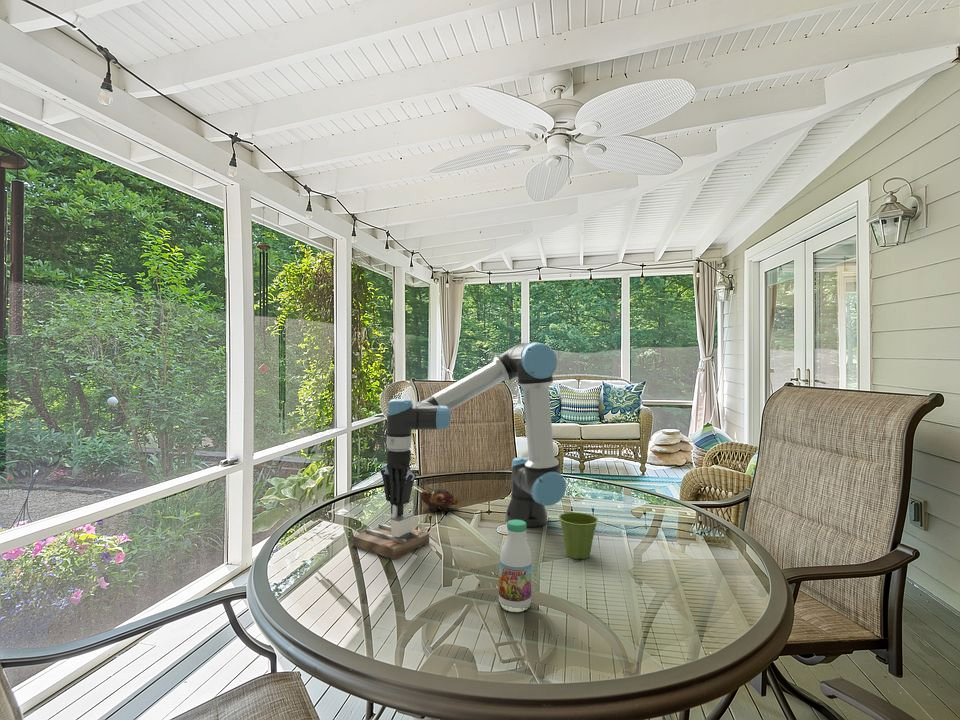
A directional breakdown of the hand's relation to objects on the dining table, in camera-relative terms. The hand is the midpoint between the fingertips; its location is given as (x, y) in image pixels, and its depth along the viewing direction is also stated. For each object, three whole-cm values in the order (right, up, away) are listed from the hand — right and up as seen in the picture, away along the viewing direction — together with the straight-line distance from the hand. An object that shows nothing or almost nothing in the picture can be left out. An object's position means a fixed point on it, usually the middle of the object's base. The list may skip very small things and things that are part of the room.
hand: (396, 525), depth 152 cm
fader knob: (+2, -3, -1) cm, 4 cm away
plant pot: (+55, -8, -3) cm, 56 cm away
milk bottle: (+34, -8, -35) cm, 49 cm away
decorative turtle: (+10, -7, +37) cm, 39 cm away
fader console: (-2, -6, +1) cm, 7 cm away
